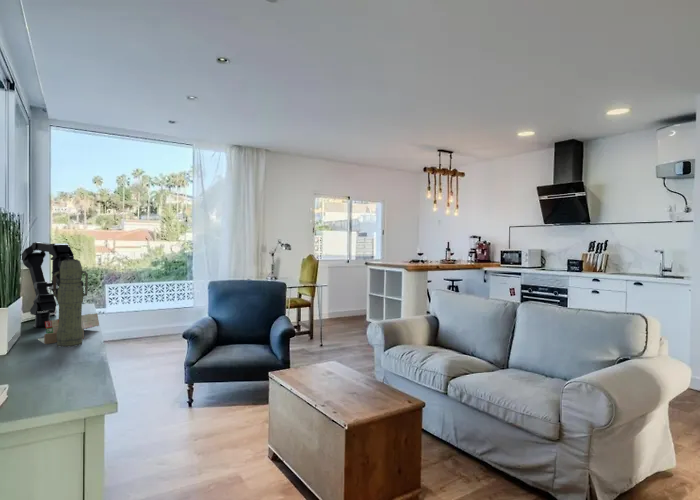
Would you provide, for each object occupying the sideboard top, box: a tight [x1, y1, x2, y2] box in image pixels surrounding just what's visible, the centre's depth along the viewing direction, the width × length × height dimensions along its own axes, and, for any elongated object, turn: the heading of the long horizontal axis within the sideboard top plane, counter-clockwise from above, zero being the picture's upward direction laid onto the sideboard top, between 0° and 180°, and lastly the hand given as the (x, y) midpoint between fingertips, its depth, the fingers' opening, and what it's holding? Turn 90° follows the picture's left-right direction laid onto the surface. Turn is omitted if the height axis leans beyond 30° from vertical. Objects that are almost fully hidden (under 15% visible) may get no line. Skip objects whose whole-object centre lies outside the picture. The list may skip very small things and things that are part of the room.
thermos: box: [52, 259, 89, 348], centre depth 169 cm, size 9×12×35 cm
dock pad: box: [37, 329, 85, 345], centre depth 178 cm, size 11×14×4 cm
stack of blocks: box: [45, 312, 100, 334], centre depth 187 cm, size 21×6×12 cm
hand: (59, 302), depth 196 cm, fingers closed
